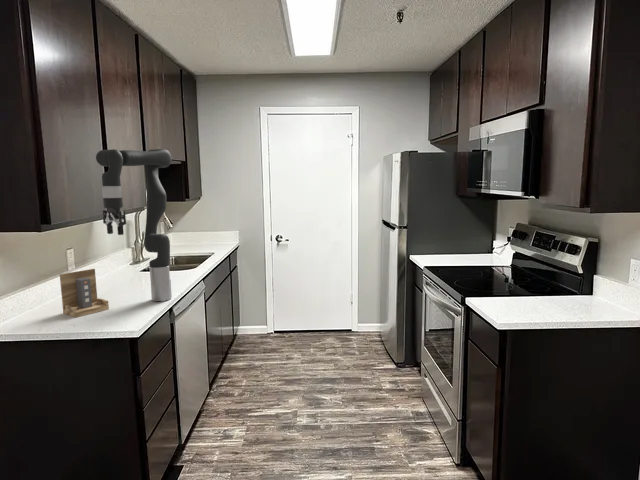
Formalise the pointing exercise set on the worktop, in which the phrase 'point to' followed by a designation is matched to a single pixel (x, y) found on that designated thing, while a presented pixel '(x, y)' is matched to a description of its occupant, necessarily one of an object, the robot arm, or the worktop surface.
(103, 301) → the wooden angled stand
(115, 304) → the worktop surface
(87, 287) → the power strip
